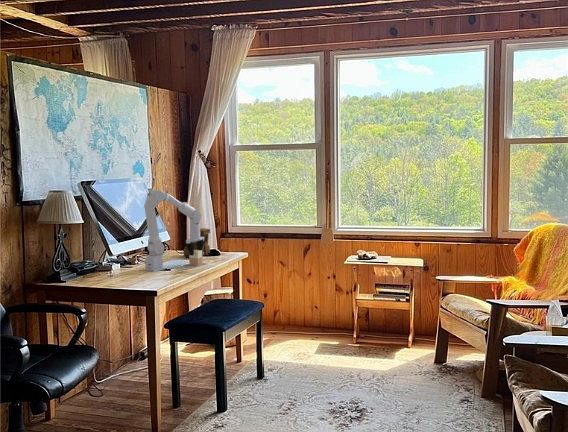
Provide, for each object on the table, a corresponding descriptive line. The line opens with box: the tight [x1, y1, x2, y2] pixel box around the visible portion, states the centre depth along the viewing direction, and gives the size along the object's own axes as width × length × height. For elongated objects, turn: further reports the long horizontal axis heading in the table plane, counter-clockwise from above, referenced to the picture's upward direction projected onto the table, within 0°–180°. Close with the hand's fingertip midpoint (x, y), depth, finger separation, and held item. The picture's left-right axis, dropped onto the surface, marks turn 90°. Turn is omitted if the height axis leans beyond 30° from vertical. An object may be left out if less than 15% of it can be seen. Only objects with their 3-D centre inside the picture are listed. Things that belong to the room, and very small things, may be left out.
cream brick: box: [188, 250, 203, 259], centre depth 329 cm, size 4×6×4 cm, turn 62°
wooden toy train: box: [183, 227, 211, 258], centre depth 362 cm, size 20×11×17 cm, turn 164°
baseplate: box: [170, 257, 208, 271], centre depth 325 cm, size 21×11×5 cm, turn 152°
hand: (195, 254), depth 329 cm, fingers open, 7 cm apart
